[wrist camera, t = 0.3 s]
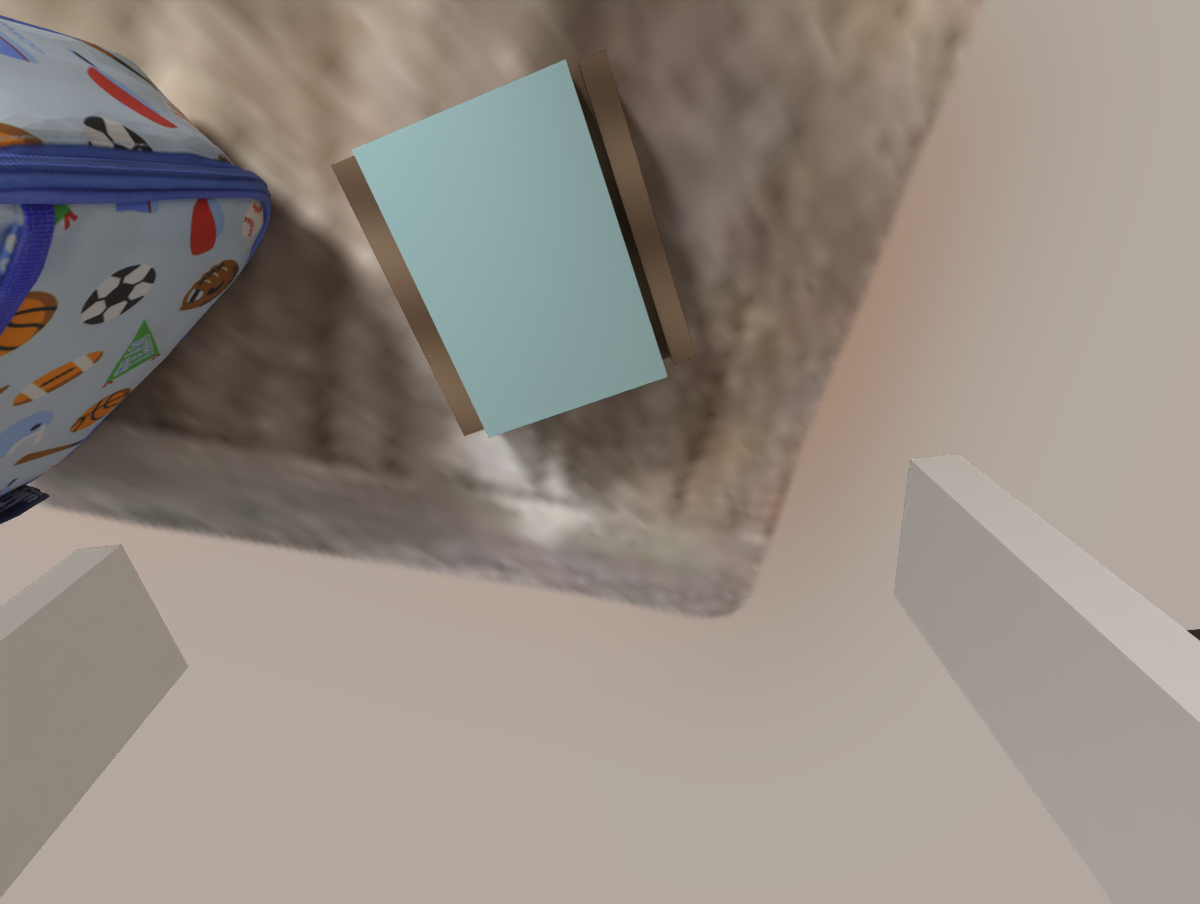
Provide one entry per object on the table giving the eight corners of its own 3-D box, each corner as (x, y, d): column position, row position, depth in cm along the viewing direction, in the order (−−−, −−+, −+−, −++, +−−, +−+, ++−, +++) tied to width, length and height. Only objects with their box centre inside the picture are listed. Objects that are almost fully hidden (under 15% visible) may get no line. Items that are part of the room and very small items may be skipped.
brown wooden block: (368, 166, 31) (331, 165, 27) (603, 69, 30) (605, 49, 25) (480, 403, 37) (464, 435, 32) (682, 333, 35) (696, 356, 31)
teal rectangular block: (375, 152, 28) (351, 149, 25) (568, 71, 27) (565, 59, 24) (497, 416, 33) (488, 437, 31) (661, 359, 32) (667, 376, 29)
